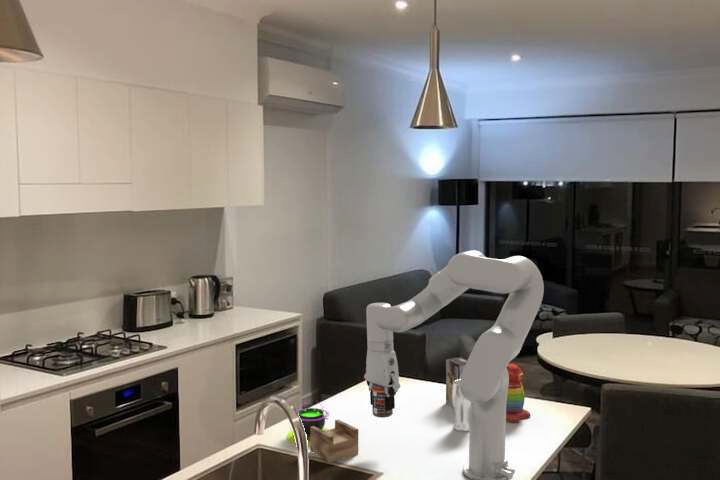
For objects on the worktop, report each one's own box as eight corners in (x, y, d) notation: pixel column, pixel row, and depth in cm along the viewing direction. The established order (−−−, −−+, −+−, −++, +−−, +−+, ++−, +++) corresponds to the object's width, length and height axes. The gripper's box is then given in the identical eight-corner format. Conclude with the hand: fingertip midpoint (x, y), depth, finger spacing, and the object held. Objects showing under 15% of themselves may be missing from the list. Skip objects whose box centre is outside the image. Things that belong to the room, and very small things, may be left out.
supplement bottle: (375, 419, 190) (374, 380, 189) (370, 413, 196) (368, 375, 195) (395, 416, 192) (394, 378, 191) (389, 410, 197) (388, 373, 197)
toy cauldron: (344, 434, 208) (344, 399, 207) (315, 450, 195) (315, 413, 194) (307, 424, 216) (307, 391, 215) (276, 439, 203) (276, 404, 203)
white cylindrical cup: (473, 433, 208) (474, 386, 207) (451, 431, 210) (451, 385, 208) (474, 425, 215) (475, 379, 214) (452, 423, 216) (453, 378, 215)
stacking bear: (513, 424, 216) (515, 370, 215) (488, 415, 224) (489, 364, 222) (532, 416, 223) (534, 364, 222) (507, 408, 231) (509, 358, 229)
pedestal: (358, 454, 192) (358, 429, 191) (329, 462, 186) (329, 437, 185) (338, 443, 200) (338, 419, 199) (310, 451, 194) (310, 426, 193)
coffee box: (474, 408, 231) (475, 363, 230) (459, 410, 229) (459, 365, 227) (459, 400, 240) (460, 356, 238) (444, 402, 237) (445, 358, 235)
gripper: (409, 348, 188) (411, 410, 189) (372, 339, 202) (374, 397, 203) (389, 352, 183) (391, 416, 185) (352, 343, 197) (354, 402, 198)
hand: (382, 406), depth 194 cm, fingers closed on supplement bottle, 6 cm apart
